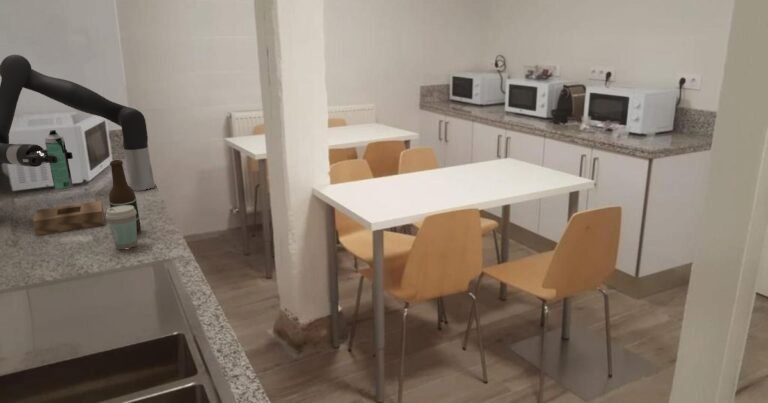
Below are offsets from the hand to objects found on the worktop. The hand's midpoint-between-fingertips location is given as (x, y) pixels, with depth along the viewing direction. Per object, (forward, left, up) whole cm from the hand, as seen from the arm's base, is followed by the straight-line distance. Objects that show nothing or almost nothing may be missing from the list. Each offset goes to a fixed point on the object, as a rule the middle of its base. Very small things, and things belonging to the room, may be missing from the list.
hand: (63, 157), depth 185 cm
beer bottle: (-15, +18, -24) cm, 34 cm away
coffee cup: (-14, +31, -24) cm, 42 cm away
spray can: (+2, -2, -11) cm, 11 cm away
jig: (+2, -2, -23) cm, 24 cm away
